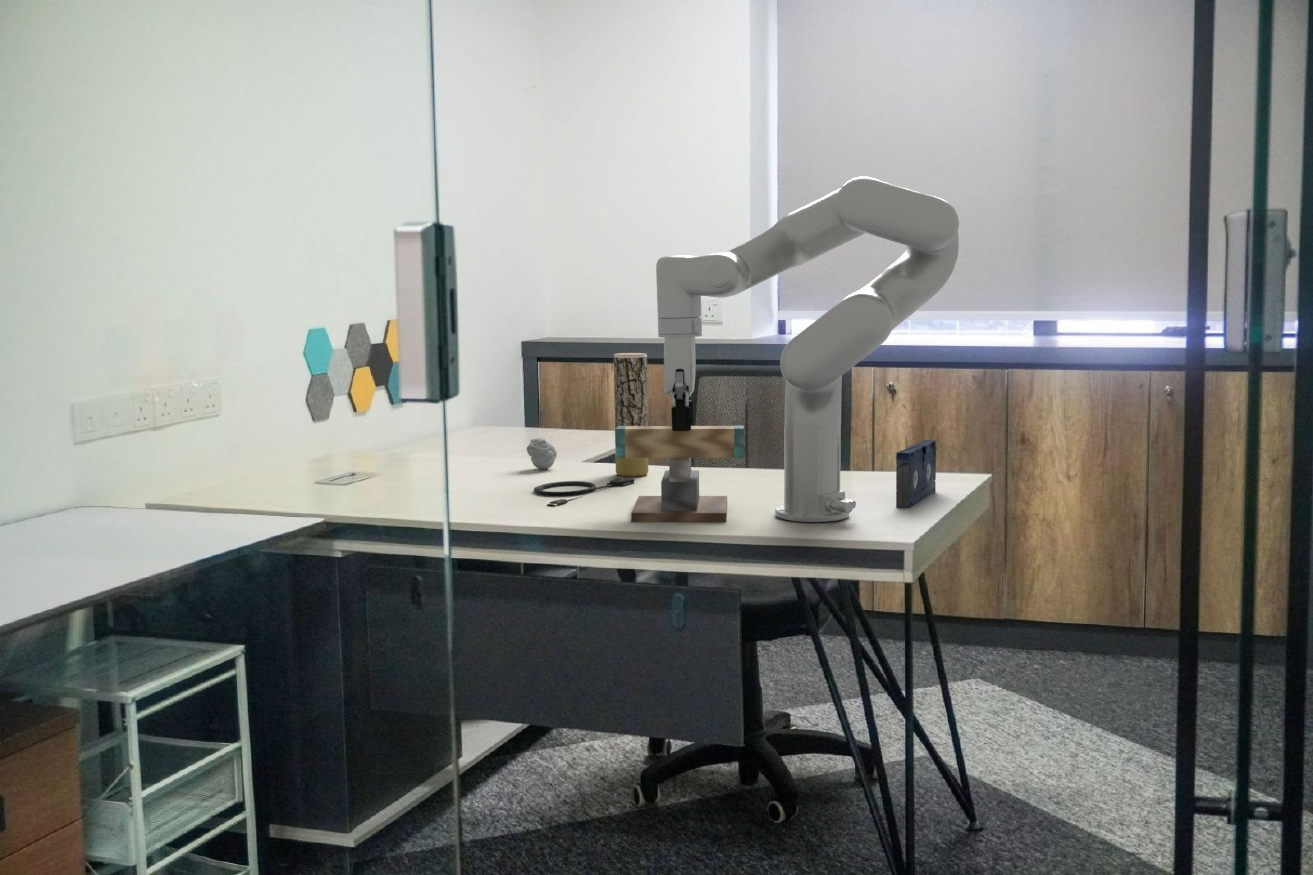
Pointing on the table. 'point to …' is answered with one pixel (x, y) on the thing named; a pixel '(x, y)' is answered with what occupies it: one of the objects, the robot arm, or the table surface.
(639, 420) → the bark log
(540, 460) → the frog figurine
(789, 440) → the robot arm
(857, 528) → the table surface
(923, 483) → the vhs cassette tape
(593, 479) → the table surface
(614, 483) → the cable
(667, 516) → the fulcrum stand
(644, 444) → the oak beam
